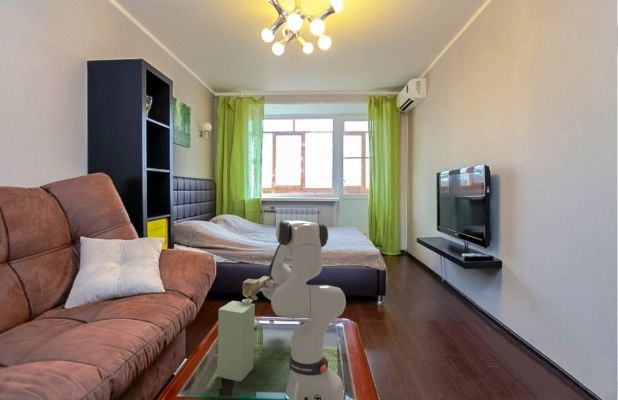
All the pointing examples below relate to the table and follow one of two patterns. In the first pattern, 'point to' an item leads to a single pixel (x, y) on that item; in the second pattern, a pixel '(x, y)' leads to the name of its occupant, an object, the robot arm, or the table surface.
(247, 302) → the flower in vase
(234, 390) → the table surface
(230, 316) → the pedestal
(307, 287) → the robot arm
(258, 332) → the table surface
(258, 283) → the block
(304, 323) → the video game controller
